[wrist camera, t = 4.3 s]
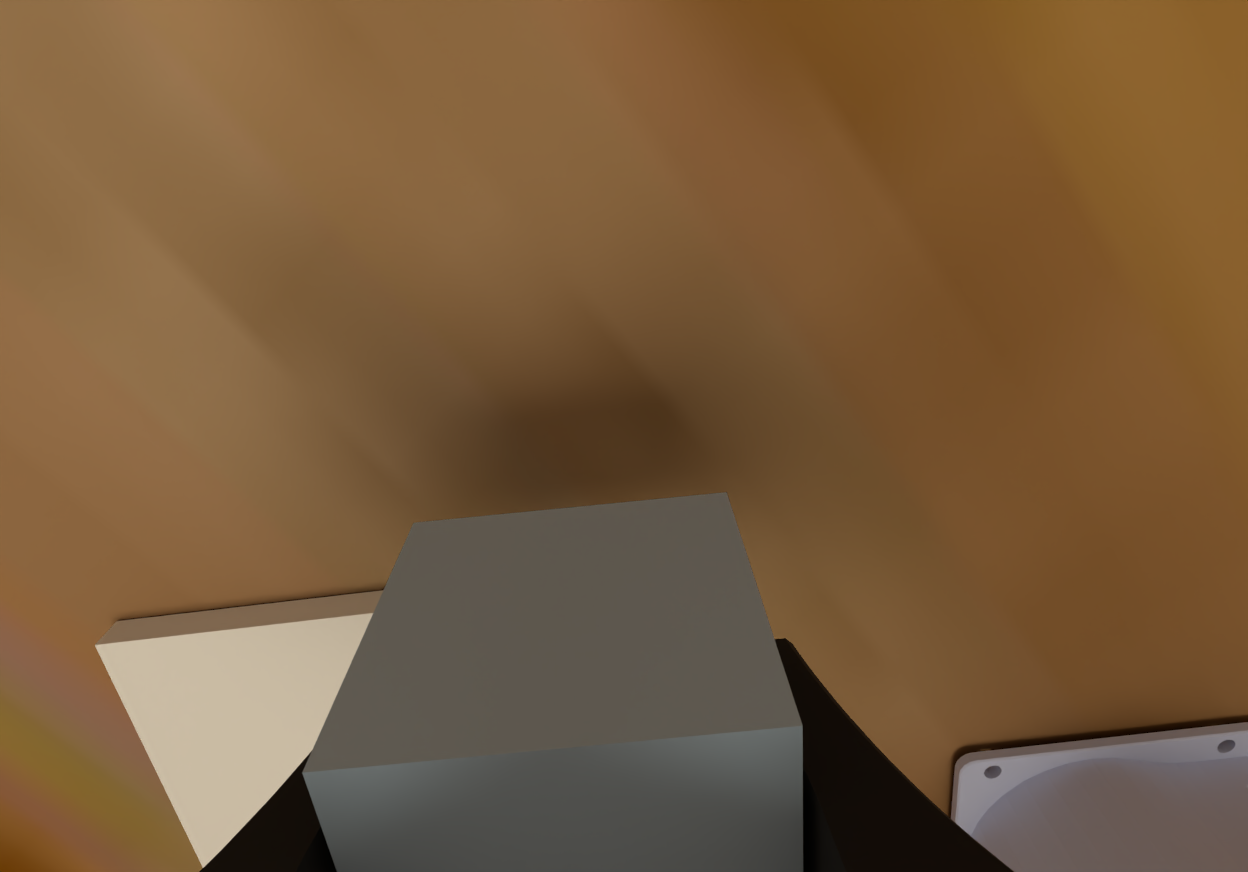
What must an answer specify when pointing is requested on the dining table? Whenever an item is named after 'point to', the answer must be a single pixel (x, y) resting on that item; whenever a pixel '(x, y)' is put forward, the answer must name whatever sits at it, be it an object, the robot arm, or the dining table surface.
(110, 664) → the cream tile
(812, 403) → the dining table surface
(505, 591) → the grey cube
